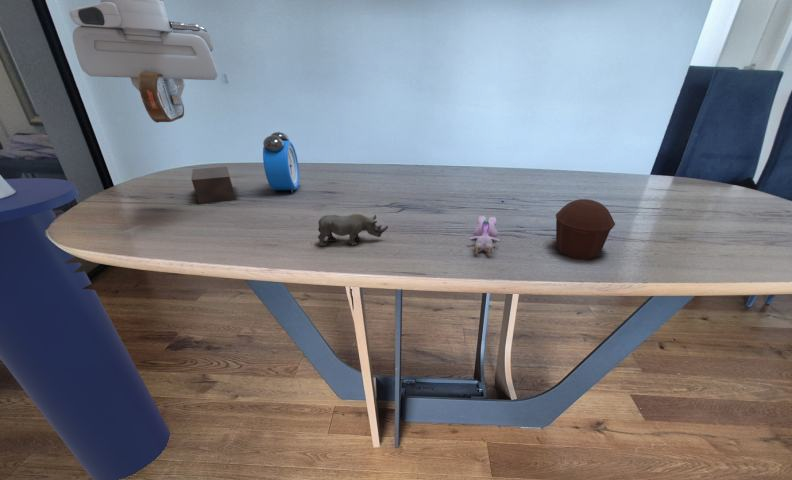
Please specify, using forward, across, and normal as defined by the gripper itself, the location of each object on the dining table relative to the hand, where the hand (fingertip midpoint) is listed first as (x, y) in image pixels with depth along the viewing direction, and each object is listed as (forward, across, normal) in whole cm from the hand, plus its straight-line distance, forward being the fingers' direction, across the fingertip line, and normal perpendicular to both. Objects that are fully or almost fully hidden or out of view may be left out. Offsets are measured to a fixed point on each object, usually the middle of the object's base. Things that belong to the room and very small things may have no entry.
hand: (165, 105), depth 71 cm
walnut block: (+24, -3, -19) cm, 30 cm away
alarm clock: (+24, -20, -17) cm, 35 cm away
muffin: (+22, -66, +51) cm, 86 cm away
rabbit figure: (+23, -51, +39) cm, 68 cm away
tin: (+3, 0, 0) cm, 3 cm away
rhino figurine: (+23, -27, +27) cm, 45 cm away
